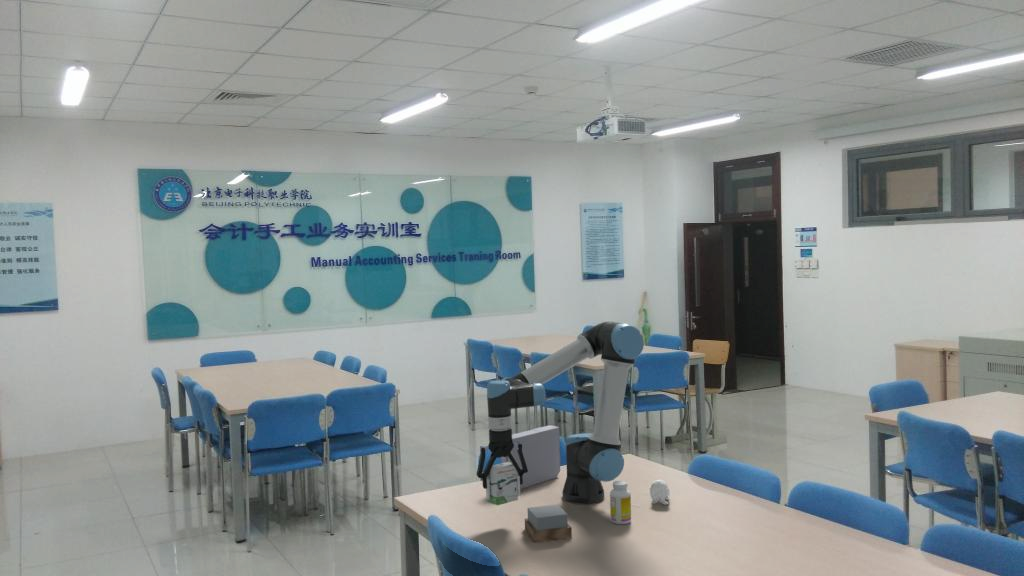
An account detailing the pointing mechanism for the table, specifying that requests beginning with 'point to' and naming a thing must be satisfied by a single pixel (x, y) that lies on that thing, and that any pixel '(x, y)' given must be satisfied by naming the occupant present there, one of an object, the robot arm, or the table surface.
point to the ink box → (503, 483)
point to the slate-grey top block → (547, 517)
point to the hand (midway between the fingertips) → (503, 496)
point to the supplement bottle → (620, 503)
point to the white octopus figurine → (659, 492)
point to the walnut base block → (547, 533)
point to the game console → (538, 454)
